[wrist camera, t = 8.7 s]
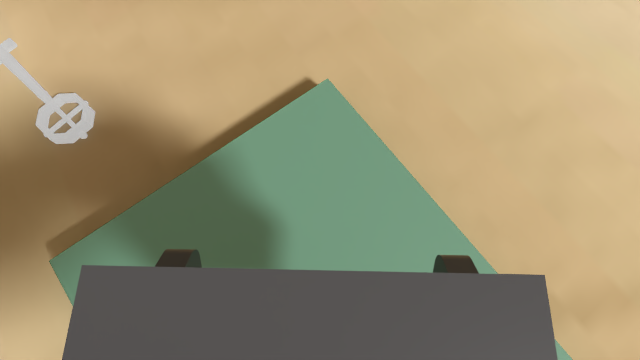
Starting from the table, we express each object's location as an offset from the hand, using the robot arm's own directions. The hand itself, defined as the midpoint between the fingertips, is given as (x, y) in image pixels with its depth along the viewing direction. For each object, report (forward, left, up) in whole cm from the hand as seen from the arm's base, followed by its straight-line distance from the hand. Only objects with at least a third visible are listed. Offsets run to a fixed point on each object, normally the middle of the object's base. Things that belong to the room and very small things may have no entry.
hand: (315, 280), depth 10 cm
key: (-22, -7, -12) cm, 26 cm away
